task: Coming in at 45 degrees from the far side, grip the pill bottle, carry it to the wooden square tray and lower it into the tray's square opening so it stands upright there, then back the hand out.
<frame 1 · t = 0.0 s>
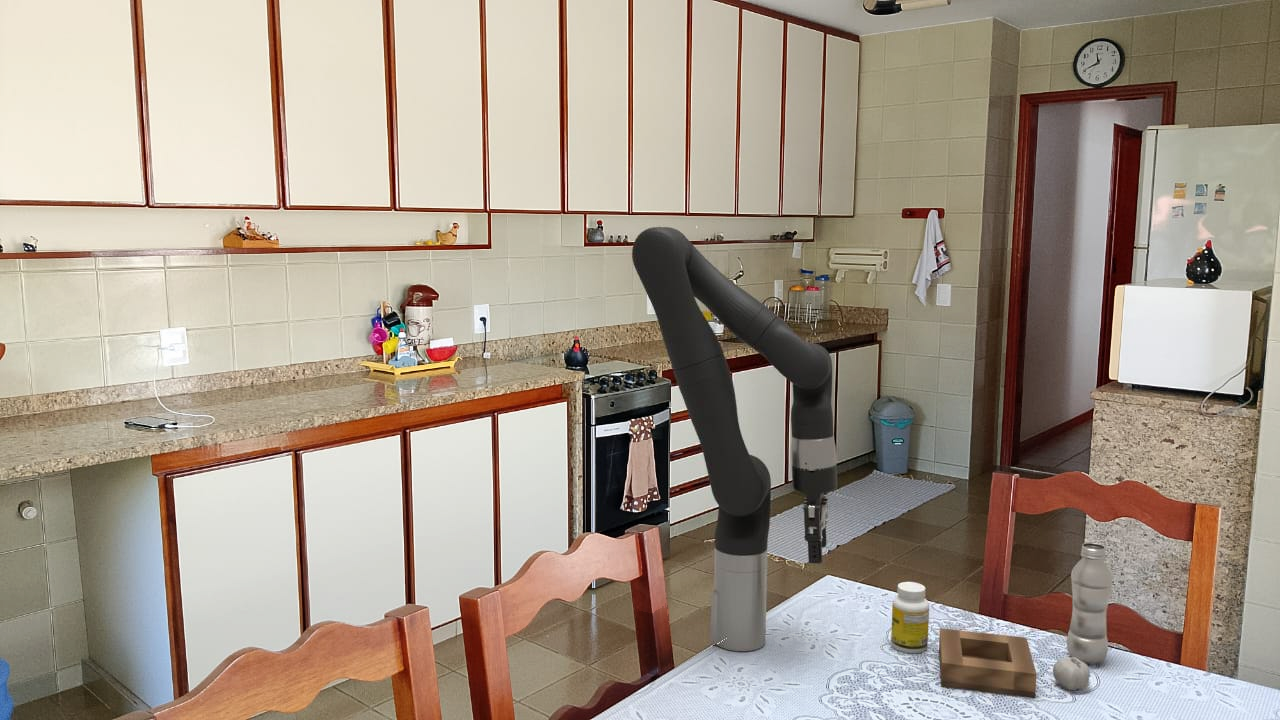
hand: (817, 554, 164), 17 cm above the table, tool pointing down, fingers open, 8 cm apart
plastic bottle: (1086, 660, 162), on the table
garlic: (1070, 687, 153), on the table
pill bottle: (908, 647, 167), on the table
wooden square tray: (984, 672, 157), on the table
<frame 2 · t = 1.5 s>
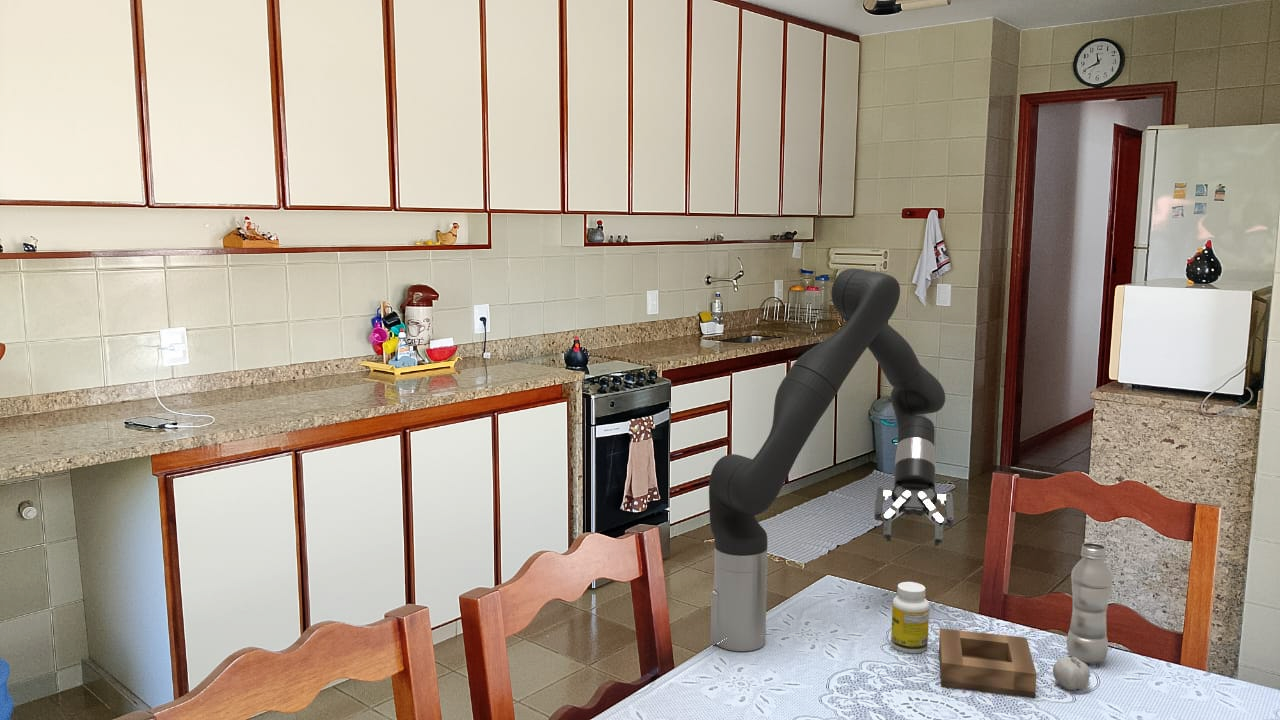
hand: (912, 541, 176), 15 cm above the table, tool tilted 45°, fingers open, 8 cm apart
nothing on the table moved.
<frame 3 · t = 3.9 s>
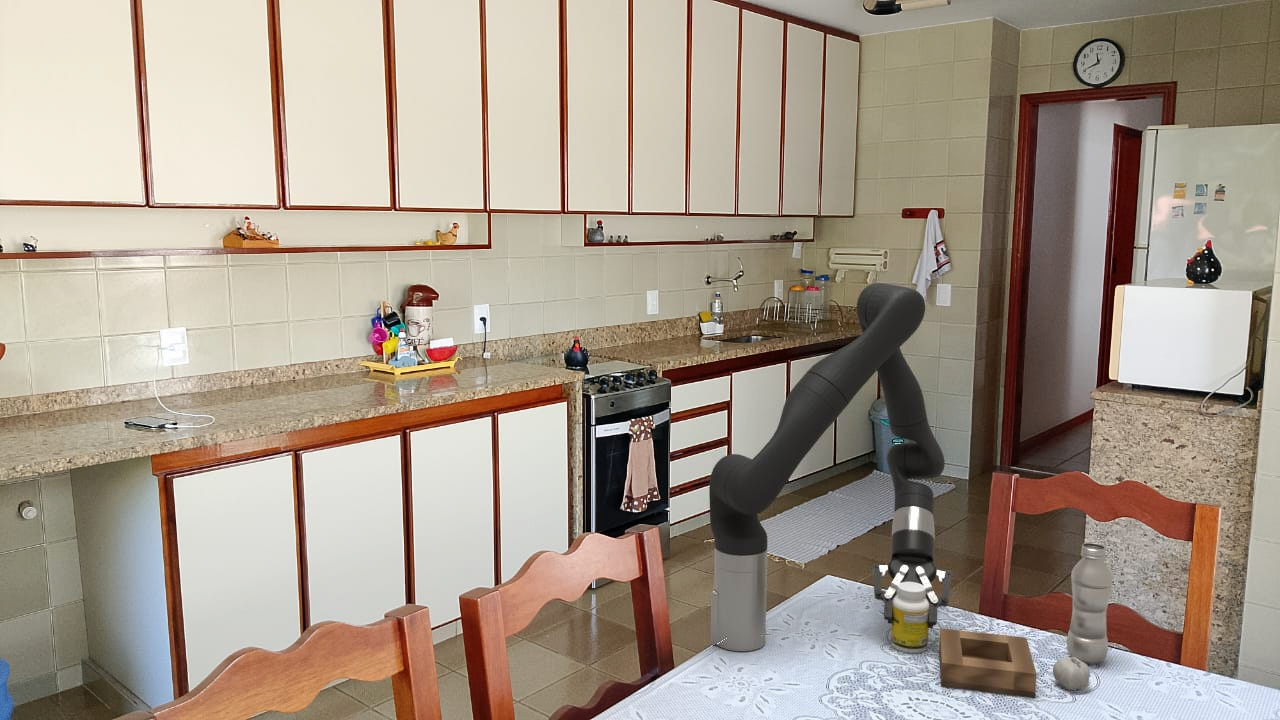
hand: (910, 623, 165), 5 cm above the table, tool tilted 45°, fingers closed on pill bottle, 6 cm apart
pill bottle: (908, 647, 167), on the table, touching gripper
everything else where it was.
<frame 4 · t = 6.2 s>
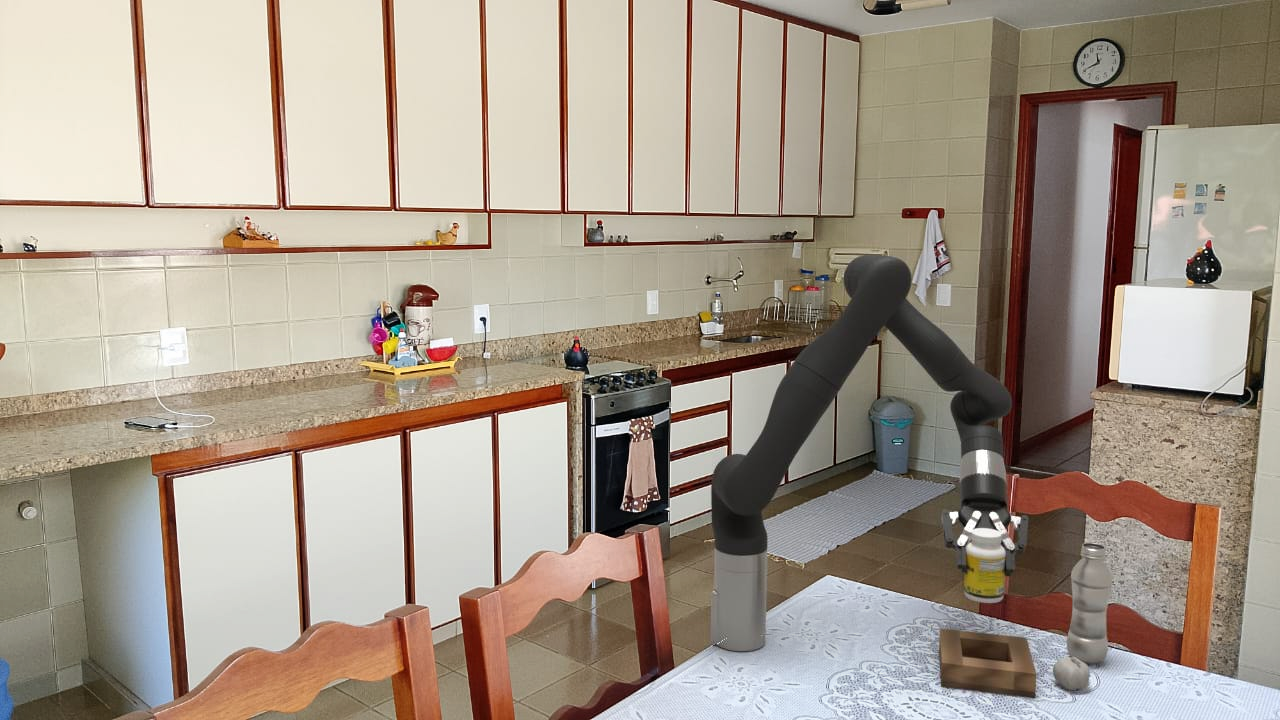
hand: (985, 572, 155), 17 cm above the table, tool tilted 45°, fingers closed on pill bottle, 6 cm apart
pill bottle: (983, 598, 157), point 12 cm above the table, touching gripper
everything else where it was.
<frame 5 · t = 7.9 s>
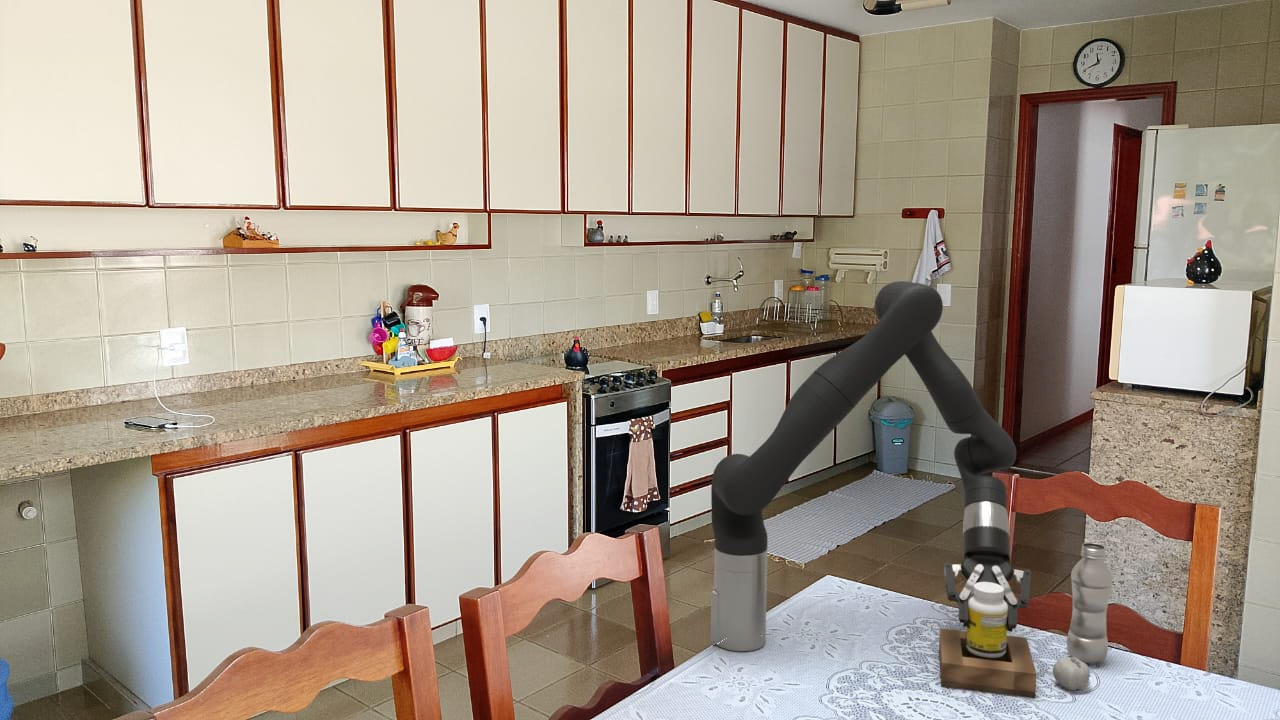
hand: (988, 627, 155), 9 cm above the table, tool tilted 45°, fingers closed on pill bottle, 6 cm apart
pill bottle: (985, 652, 157), point 3 cm above the table, touching gripper
everything else where it was.
when the fingers open (7 cm above the table, at t = 8.8 s): pill bottle drops 1 cm, resting on wooden square tray.
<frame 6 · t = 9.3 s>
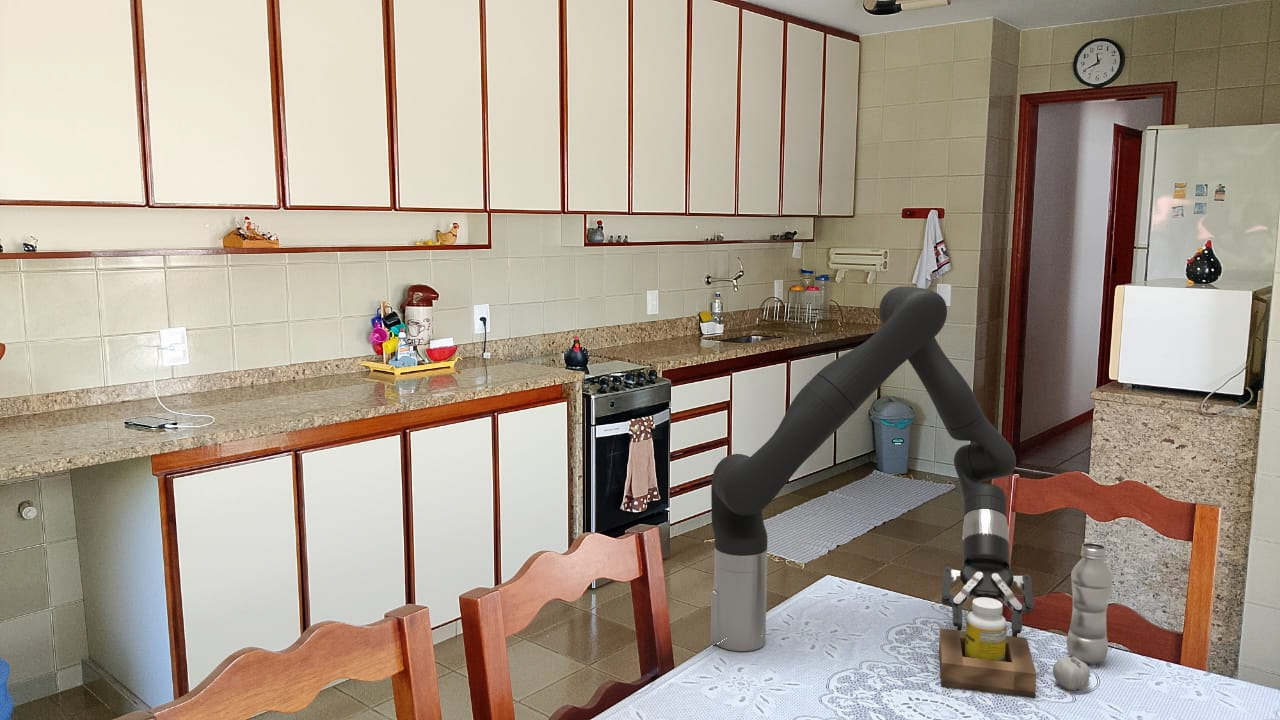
hand: (987, 631, 155), 8 cm above the table, tool tilted 45°, fingers open, 8 cm apart
pill bottle: (983, 667, 157), point 1 cm above the table, touching wooden square tray
everything else where it was.
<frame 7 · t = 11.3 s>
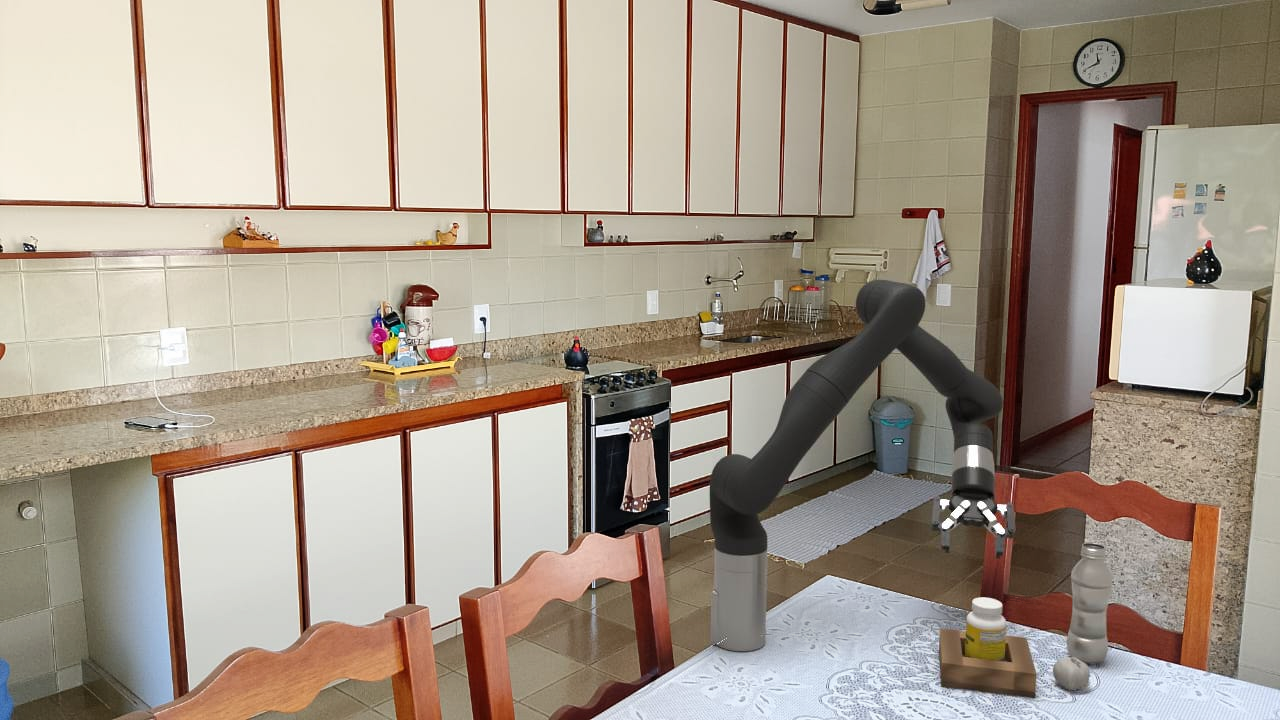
hand: (972, 553, 169), 16 cm above the table, tool tilted 45°, fingers open, 8 cm apart
nothing on the table moved.
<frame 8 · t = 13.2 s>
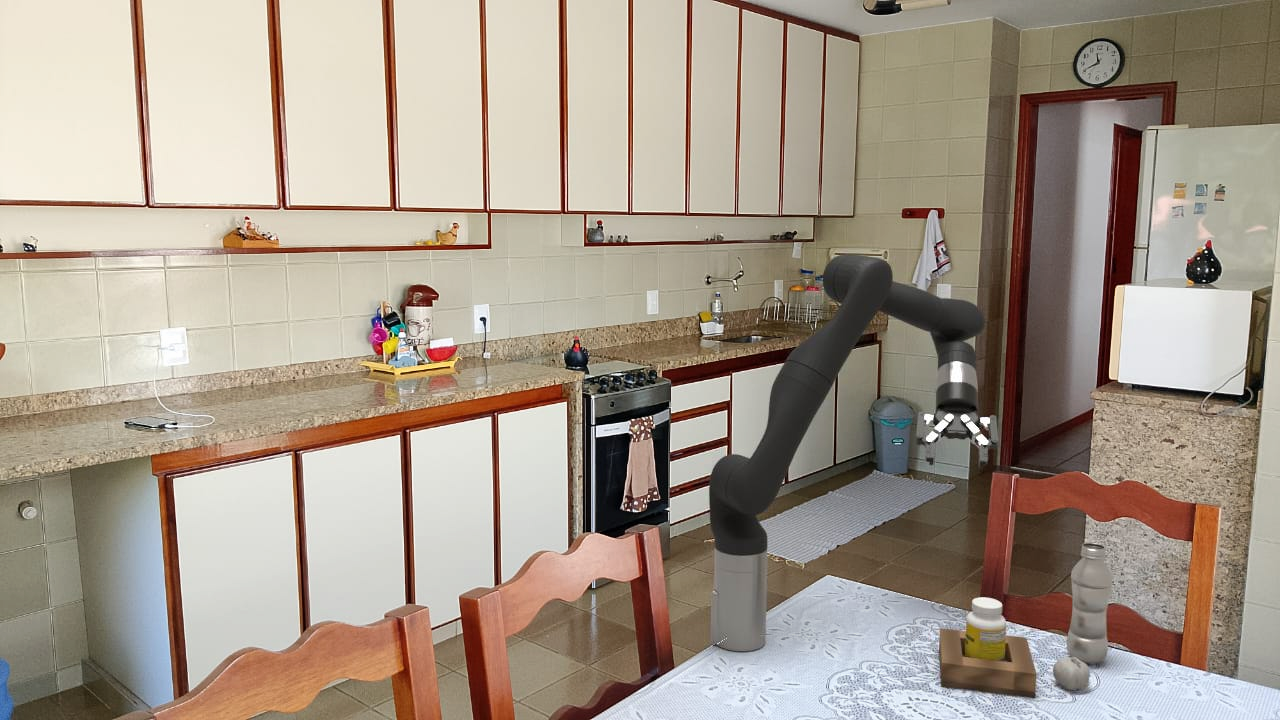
hand: (956, 464, 172), 31 cm above the table, tool tilted 45°, fingers open, 8 cm apart
nothing on the table moved.
at the end: pill bottle 0.2 cm off-centre on the wooden square tray, point 0.8 cm above the wooden square tray's base; pill bottle tilted 0°; the gripper is holding nothing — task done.
